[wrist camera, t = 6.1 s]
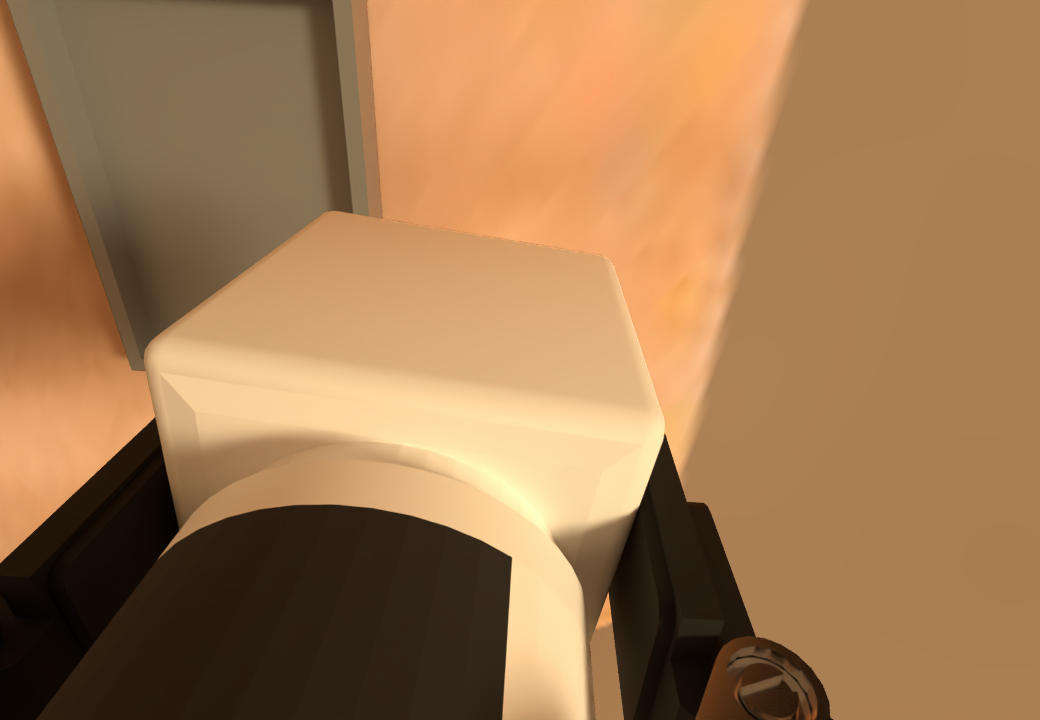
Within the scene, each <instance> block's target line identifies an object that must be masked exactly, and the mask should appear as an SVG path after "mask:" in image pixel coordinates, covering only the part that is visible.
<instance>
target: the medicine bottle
mask: <svg viewBox="0 0 1040 720" xmlns="http://www.w3.org/2000/svg"><path fill="white" fill-rule="evenodd" d="M144 365H145V370H146V374H147V379H148V384H149V389H150V394H151V398H152V403H153V408H154V413H155V417H156V422H157V427H158V432H159V436H160V441H161V446H162V451H163V455H164V460H165V465H166V470H167V475H168V479H169V484H170V489H171V494H172V498H173V503H174V508H175V513H176V517H177V522H178V527H179V532H178V533H177V535H176V536H175V537H174V539H173V540H172V541H171V543H170V544H169V545H168V546H167V548H166V549H165V550H164V552H163V553H162V554H161V556H160V557H159V558H158V560H157V561H156V562H155V564H154V565H153V566H152V568H151V569H150V570H149V571H148V573H147V574H146V575H145V577H144V578H143V579H142V581H141V582H140V583H139V585H138V586H137V587H136V589H135V590H134V591H133V593H132V594H131V595H130V596H129V598H128V599H127V600H126V602H125V603H124V604H123V606H122V607H121V608H120V610H119V611H118V612H117V614H116V615H115V616H114V618H113V619H112V620H111V621H110V623H109V624H108V625H107V627H106V628H105V629H104V631H103V632H102V633H101V635H100V636H99V637H98V639H97V640H96V641H95V643H94V644H93V645H92V646H91V648H90V649H89V650H88V652H87V653H86V654H85V656H84V657H83V658H82V660H81V661H80V662H79V664H78V665H77V666H76V668H75V669H74V670H73V671H72V673H71V674H70V675H69V677H68V678H67V679H66V681H65V682H64V683H63V685H62V686H61V687H60V689H59V690H58V691H57V693H56V694H55V695H54V697H53V698H52V699H51V700H50V702H49V703H48V704H47V706H46V707H45V708H44V710H43V711H42V712H41V714H40V715H39V716H38V718H37V719H36V720H596V718H595V705H594V692H593V679H592V666H591V654H590V641H591V638H592V635H593V633H594V630H595V627H596V625H597V622H598V619H599V616H600V613H601V611H602V608H603V605H604V602H605V600H606V597H607V594H608V591H609V589H610V586H611V583H612V580H613V577H614V575H615V572H616V569H617V566H618V564H619V561H620V558H621V555H622V553H623V550H624V547H625V544H626V541H627V539H628V536H629V533H630V530H631V528H632V525H633V522H634V519H635V517H636V514H637V511H638V508H639V506H640V503H641V500H642V497H643V494H644V492H645V489H646V486H647V483H648V481H649V478H650V475H651V472H652V470H653V467H654V464H655V461H656V458H657V456H658V453H659V450H660V447H661V445H662V442H663V438H664V424H665V420H664V417H663V414H662V411H661V408H660V405H659V402H658V399H657V396H656V393H655V390H654V387H653V384H652V381H651V378H650V375H649V372H648V369H647V366H646V363H645V360H644V357H643V353H642V350H641V347H640V344H639V341H638V338H637V335H636V332H635V329H634V326H633V323H632V320H631V317H630V314H629V311H628V308H627V305H626V302H625V299H624V296H623V293H622V290H621V287H620V284H619V281H618V278H617V275H616V272H615V268H614V265H613V264H612V262H611V261H610V259H609V258H606V257H604V256H602V255H598V254H592V253H586V252H580V251H574V250H568V249H562V248H556V247H550V246H544V245H538V244H532V243H526V242H520V241H514V240H508V239H502V238H496V237H490V236H484V235H478V234H472V233H466V232H460V231H454V230H448V229H442V228H436V227H430V226H424V225H418V224H412V223H406V222H400V221H393V220H387V219H381V218H375V217H369V216H363V215H357V214H351V213H345V212H339V211H328V212H325V213H323V214H322V215H321V216H319V217H318V218H317V219H315V220H314V221H312V222H311V223H310V224H308V225H307V226H306V227H304V228H303V229H302V230H300V231H299V232H298V233H296V234H295V235H293V236H292V237H291V238H289V239H288V240H287V241H285V242H284V243H283V244H281V245H280V246H278V247H277V248H276V249H274V250H273V251H272V252H270V253H269V254H268V255H266V256H265V257H263V258H262V259H261V260H259V261H258V262H257V263H255V264H254V265H253V266H251V267H250V268H249V269H247V270H246V271H244V272H243V273H242V274H240V275H239V276H238V277H236V278H235V279H234V280H232V281H231V282H229V283H228V284H227V285H225V286H224V287H223V288H221V289H220V290H219V291H217V292H216V293H214V294H213V295H212V296H210V297H209V298H208V299H206V300H205V301H204V302H202V303H201V304H200V305H198V306H197V307H195V308H194V309H193V310H191V311H190V312H189V313H187V314H186V315H185V316H183V317H182V318H180V319H179V320H178V321H176V322H175V323H174V324H172V325H171V326H170V327H168V328H167V329H165V330H164V331H163V332H161V333H160V334H159V335H158V336H156V337H155V338H154V339H153V340H152V341H150V343H149V344H148V346H147V348H146V349H145V353H144Z"/></svg>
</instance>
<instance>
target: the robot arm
mask: <svg viewBox="0 0 1040 720" xmlns="http://www.w3.org/2000/svg"><path fill="white" fill-rule="evenodd" d="M178 532H179V527H178V522H177V517H176V513H175V508H174V503H173V498H172V494H171V489H170V484H169V479H168V475H167V470H166V465H165V460H164V455H163V451H162V446H161V441H160V436H159V432H158V427H157V422H156V417H155V418H154V419H153V420H152V421H151V422H150V423H149V424H148V425H147V426H146V427H144V428H143V429H142V430H141V431H140V432H139V433H138V434H137V435H136V436H135V437H134V438H133V439H132V440H131V441H130V442H129V443H127V444H126V445H125V446H124V447H123V448H122V449H121V450H120V451H119V452H118V453H117V454H116V455H115V456H114V457H113V458H112V459H111V460H109V461H108V462H107V463H106V464H105V465H104V466H103V467H102V468H101V469H100V470H99V471H98V472H97V473H96V474H95V475H94V476H92V477H91V478H90V479H89V480H88V481H87V482H86V483H85V484H84V485H83V486H82V487H81V488H80V489H79V490H78V491H77V492H75V493H74V494H73V495H72V496H71V497H70V498H69V499H68V500H67V501H66V502H65V503H64V504H63V505H62V506H61V507H60V508H59V509H57V510H56V511H55V512H54V513H53V514H52V515H51V516H50V517H49V518H48V519H47V520H46V521H45V522H44V523H43V524H42V525H40V526H39V527H38V528H37V529H36V530H35V531H34V532H33V533H32V534H31V535H30V536H29V537H28V538H27V539H26V540H25V541H23V542H22V543H21V544H20V545H19V546H18V547H17V548H16V549H15V550H14V551H13V552H12V553H11V554H10V555H9V556H8V557H6V558H5V559H4V560H3V561H2V562H1V563H0V720H36V719H37V718H38V716H39V715H40V714H41V712H42V711H43V710H44V708H45V707H46V706H47V704H48V703H49V702H50V700H51V699H52V698H53V697H54V695H55V694H56V693H57V691H58V690H59V689H60V687H61V686H62V685H63V683H64V682H65V681H66V679H67V678H68V677H69V675H70V674H71V673H72V671H73V670H74V669H75V668H76V666H77V665H78V664H79V662H80V661H81V660H82V658H83V657H84V656H85V654H86V653H87V652H88V650H89V649H90V648H91V646H92V645H93V644H94V643H95V641H96V640H97V639H98V637H99V636H100V635H101V633H102V632H103V631H104V629H105V628H106V627H107V625H108V624H109V623H110V621H111V620H112V619H113V618H114V616H115V615H116V614H117V612H118V611H119V610H120V608H121V607H122V606H123V604H124V603H125V602H126V600H127V599H128V598H129V596H130V595H131V594H132V593H133V591H134V590H135V589H136V587H137V586H138V585H139V583H140V582H141V581H142V579H143V578H144V577H145V575H146V574H147V573H148V571H149V570H150V569H151V568H152V566H153V565H154V564H155V562H156V561H157V560H158V558H159V557H160V556H161V554H162V553H163V552H164V550H165V549H166V548H167V546H168V545H169V544H170V543H171V541H172V540H173V539H174V537H175V536H176V535H177V533H178ZM609 599H610V607H611V615H612V624H613V632H614V640H615V648H616V656H617V665H618V673H619V681H620V689H621V698H622V705H623V714H624V720H833V719H832V718H830V703H829V700H828V697H827V694H826V692H825V689H824V687H823V684H822V683H821V681H820V680H819V678H818V677H817V676H816V674H815V673H814V671H813V670H812V668H810V666H808V665H807V664H806V663H805V662H804V661H803V660H802V659H801V658H800V657H799V656H798V655H797V654H795V653H794V652H792V651H791V650H789V649H787V648H786V647H784V646H783V645H781V644H779V643H776V642H773V641H771V640H768V639H766V638H760V637H756V636H755V633H754V630H753V628H752V625H751V622H750V619H749V617H748V614H747V611H746V608H745V606H744V603H743V601H742V597H741V595H740V592H739V589H738V587H737V584H736V581H735V578H734V576H733V573H732V570H731V567H730V565H729V562H728V559H727V557H726V554H725V551H724V548H723V545H722V543H721V540H720V537H719V534H718V532H717V529H716V526H715V523H714V521H713V518H712V515H711V513H710V511H709V508H708V506H707V505H706V504H704V503H696V502H687V501H686V498H685V495H684V491H683V488H682V485H681V482H680V479H679V476H678V473H677V470H676V466H675V463H674V460H673V457H672V454H671V451H670V448H669V445H668V441H667V438H666V435H665V433H664V438H663V442H662V445H661V447H660V450H659V453H658V456H657V458H656V461H655V464H654V467H653V470H652V472H651V475H650V478H649V481H648V483H647V486H646V489H645V492H644V494H643V497H642V500H641V503H640V506H639V508H638V511H637V514H636V517H635V519H634V522H633V525H632V528H631V530H630V533H629V536H628V539H627V541H626V544H625V547H624V550H623V553H622V555H621V558H620V561H619V564H618V566H617V569H616V572H615V575H614V577H613V580H612V583H611V586H610V589H609Z"/></svg>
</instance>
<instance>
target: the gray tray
mask: <svg viewBox="0 0 1040 720" xmlns="http://www.w3.org/2000/svg"><path fill="white" fill-rule="evenodd" d="M7 3H8V6H9V9H10V12H11V15H12V18H13V21H14V24H15V27H16V30H17V33H18V36H19V39H20V42H21V45H22V48H23V51H24V54H25V56H26V59H27V62H28V65H29V68H30V71H31V74H32V77H33V80H34V83H35V86H36V89H37V92H38V95H39V98H40V101H41V104H42V107H43V110H44V112H45V115H46V118H47V121H48V124H49V127H50V130H51V133H52V136H53V139H54V142H55V145H56V148H57V151H58V154H59V157H60V160H61V163H62V166H63V169H64V171H65V174H66V177H67V180H68V183H69V186H70V189H71V192H72V195H73V198H74V201H75V204H76V207H77V210H78V213H79V216H80V219H81V222H82V225H83V227H84V230H85V233H86V236H87V239H88V242H89V245H90V248H91V251H92V254H93V257H94V260H95V263H96V266H97V269H98V272H99V275H100V278H101V281H102V283H103V286H104V289H105V292H106V295H107V298H108V301H109V304H110V307H111V310H112V313H113V316H114V319H115V322H116V325H117V328H118V331H119V334H120V337H121V340H122V342H123V345H124V348H125V351H126V354H127V357H128V360H129V363H130V366H131V369H132V370H136V371H146V370H145V365H144V353H145V349H146V348H147V346H148V344H149V343H150V341H152V340H153V339H154V338H155V337H156V336H158V335H159V334H160V333H161V332H163V331H164V330H165V329H167V328H168V327H170V326H171V325H172V324H174V323H175V322H176V321H178V320H179V319H180V318H182V317H183V316H185V315H186V314H187V313H189V312H190V311H191V310H193V309H194V308H195V307H197V306H198V305H200V304H201V303H202V302H204V301H205V300H206V299H208V298H209V297H210V296H212V295H213V294H214V293H216V292H217V291H219V290H220V289H221V288H223V287H224V286H225V285H227V284H228V283H229V282H231V281H232V280H234V279H235V278H236V277H238V276H239V275H240V274H242V273H243V272H244V271H246V270H247V269H249V268H250V267H251V266H253V265H254V264H255V263H257V262H258V261H259V260H261V259H262V258H263V257H265V256H266V255H268V254H269V253H270V252H272V251H273V250H274V249H276V248H277V247H278V246H280V245H281V244H283V243H284V242H285V241H287V240H288V239H289V238H291V237H292V236H293V235H295V234H296V233H298V232H299V231H300V230H302V229H303V228H304V227H306V226H307V225H308V224H310V223H311V222H312V221H314V220H315V219H317V218H318V217H319V216H321V215H322V214H323V213H325V212H328V211H339V212H345V213H351V214H357V215H363V216H369V217H375V218H381V219H382V206H381V192H380V178H379V164H378V150H377V136H376V122H375V108H374V94H373V80H372V66H371V53H370V39H369V25H368V11H367V0H7Z"/></svg>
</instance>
